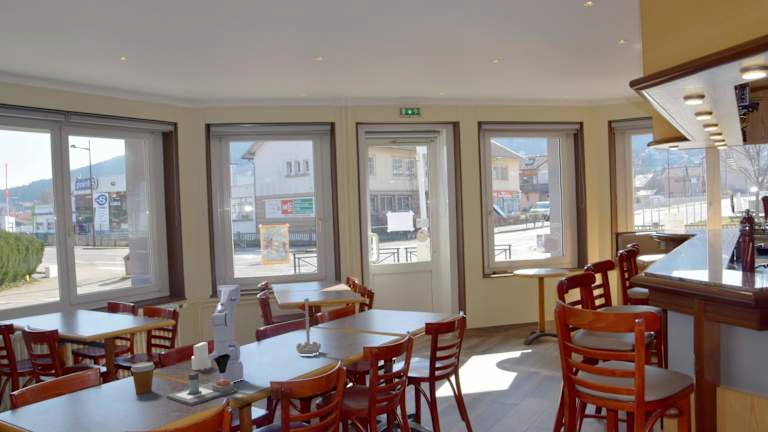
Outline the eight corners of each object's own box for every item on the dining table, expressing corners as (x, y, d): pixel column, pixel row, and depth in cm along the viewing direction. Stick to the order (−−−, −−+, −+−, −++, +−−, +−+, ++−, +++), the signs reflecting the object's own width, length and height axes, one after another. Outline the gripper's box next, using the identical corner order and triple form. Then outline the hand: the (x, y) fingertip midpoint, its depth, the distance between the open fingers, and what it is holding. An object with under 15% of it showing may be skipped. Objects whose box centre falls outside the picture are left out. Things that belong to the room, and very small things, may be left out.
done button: (224, 384, 251) (224, 378, 251) (229, 386, 249) (229, 379, 249) (216, 387, 248) (216, 380, 248) (221, 388, 246) (221, 382, 246)
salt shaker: (195, 390, 247) (195, 372, 247) (201, 392, 245) (200, 373, 245) (187, 393, 244) (186, 374, 244) (192, 395, 242) (191, 375, 242)
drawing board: (212, 384, 261) (212, 377, 261) (236, 391, 249) (236, 383, 249) (166, 398, 244) (166, 389, 244) (190, 405, 232) (190, 397, 232)
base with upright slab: (205, 370, 285) (204, 346, 285) (188, 370, 287) (187, 346, 287) (214, 365, 294) (213, 342, 294) (197, 365, 296) (196, 342, 296)
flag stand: (323, 351, 317) (321, 295, 316) (318, 357, 304) (315, 299, 304) (299, 351, 318) (297, 296, 318) (293, 357, 305) (291, 300, 305)
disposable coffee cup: (132, 390, 256) (131, 363, 256) (155, 387, 260) (154, 360, 260) (131, 396, 248) (130, 368, 248) (155, 393, 251) (154, 365, 251)
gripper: (225, 336, 257) (226, 367, 257) (201, 344, 244) (203, 376, 244) (237, 337, 254) (239, 368, 254) (215, 345, 241) (216, 377, 241)
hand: (222, 372), depth 248 cm, fingers closed
